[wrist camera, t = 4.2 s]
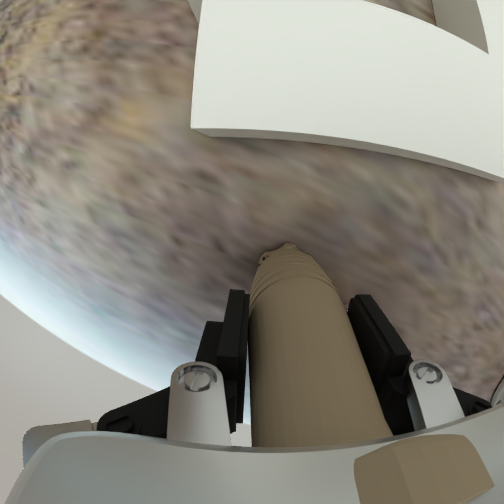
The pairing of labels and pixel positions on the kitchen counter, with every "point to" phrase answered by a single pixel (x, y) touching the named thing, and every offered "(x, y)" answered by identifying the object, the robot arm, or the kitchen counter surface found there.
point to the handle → (338, 391)
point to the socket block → (356, 77)
